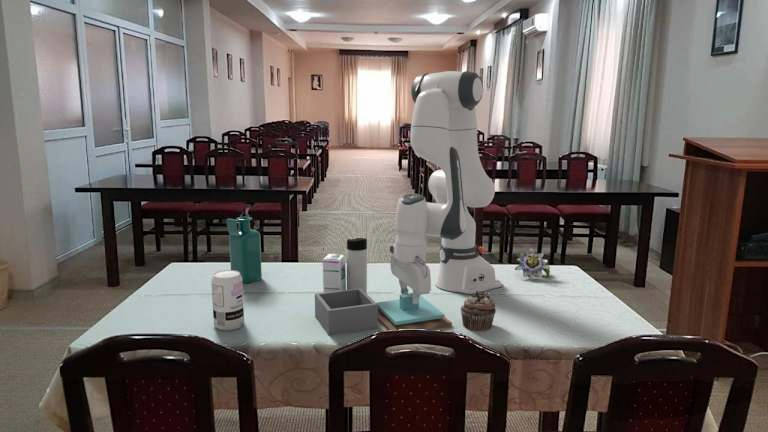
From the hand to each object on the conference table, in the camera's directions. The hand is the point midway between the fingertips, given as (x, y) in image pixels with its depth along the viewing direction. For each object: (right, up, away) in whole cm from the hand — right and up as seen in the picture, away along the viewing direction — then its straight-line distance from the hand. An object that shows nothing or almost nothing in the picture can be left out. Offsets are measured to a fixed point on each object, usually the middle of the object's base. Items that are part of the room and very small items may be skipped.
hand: (409, 298), depth 165 cm
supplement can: (-50, -7, -5) cm, 51 cm away
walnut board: (0, -6, +1) cm, 6 cm away
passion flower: (+45, +2, +41) cm, 61 cm away
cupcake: (+19, -7, -3) cm, 20 cm away
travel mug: (-16, -3, +16) cm, 23 cm away
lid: (0, -5, +1) cm, 5 cm away
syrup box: (-23, -3, +15) cm, 27 cm away
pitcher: (-55, +2, +33) cm, 65 cm away
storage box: (-18, -6, -2) cm, 19 cm away
